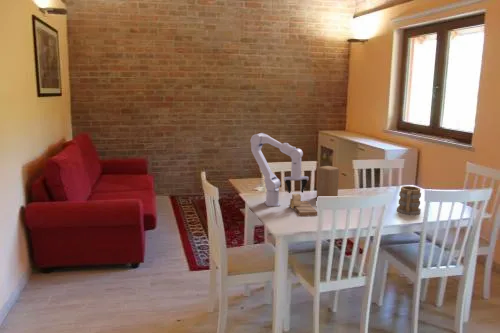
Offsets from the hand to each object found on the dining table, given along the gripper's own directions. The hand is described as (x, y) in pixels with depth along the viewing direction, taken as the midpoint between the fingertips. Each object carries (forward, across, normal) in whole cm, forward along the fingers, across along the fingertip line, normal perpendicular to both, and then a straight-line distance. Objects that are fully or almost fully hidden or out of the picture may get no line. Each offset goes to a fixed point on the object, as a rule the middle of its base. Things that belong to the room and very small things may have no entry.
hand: (295, 192), depth 261 cm
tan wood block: (+9, 0, 0) cm, 9 cm away
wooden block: (+10, +26, +20) cm, 34 cm away
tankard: (+11, +63, -14) cm, 65 cm away
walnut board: (+10, +4, -4) cm, 11 cm away
